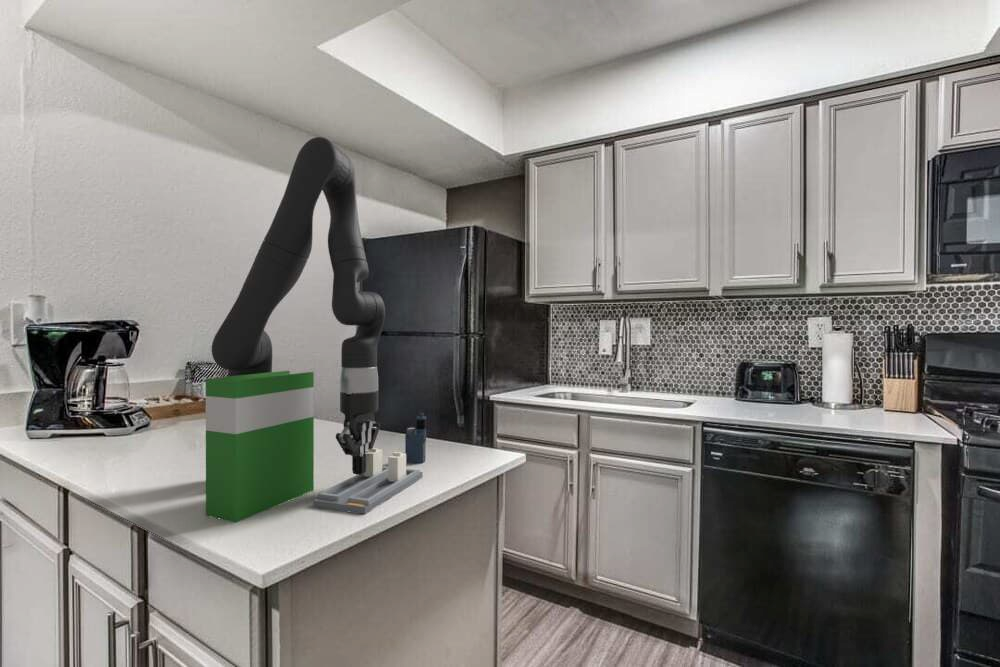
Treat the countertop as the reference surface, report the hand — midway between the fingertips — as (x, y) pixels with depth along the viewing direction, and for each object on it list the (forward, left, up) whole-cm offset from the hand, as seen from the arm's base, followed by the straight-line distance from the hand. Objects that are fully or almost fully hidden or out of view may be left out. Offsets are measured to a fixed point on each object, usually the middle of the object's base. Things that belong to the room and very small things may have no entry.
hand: (359, 473), depth 99 cm
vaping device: (+1, +22, -3) cm, 22 cm away
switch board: (+3, 0, -3) cm, 5 cm away
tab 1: (0, +5, -2) cm, 5 cm away
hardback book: (-13, -12, -3) cm, 18 cm away
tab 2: (+7, +4, -2) cm, 8 cm away
